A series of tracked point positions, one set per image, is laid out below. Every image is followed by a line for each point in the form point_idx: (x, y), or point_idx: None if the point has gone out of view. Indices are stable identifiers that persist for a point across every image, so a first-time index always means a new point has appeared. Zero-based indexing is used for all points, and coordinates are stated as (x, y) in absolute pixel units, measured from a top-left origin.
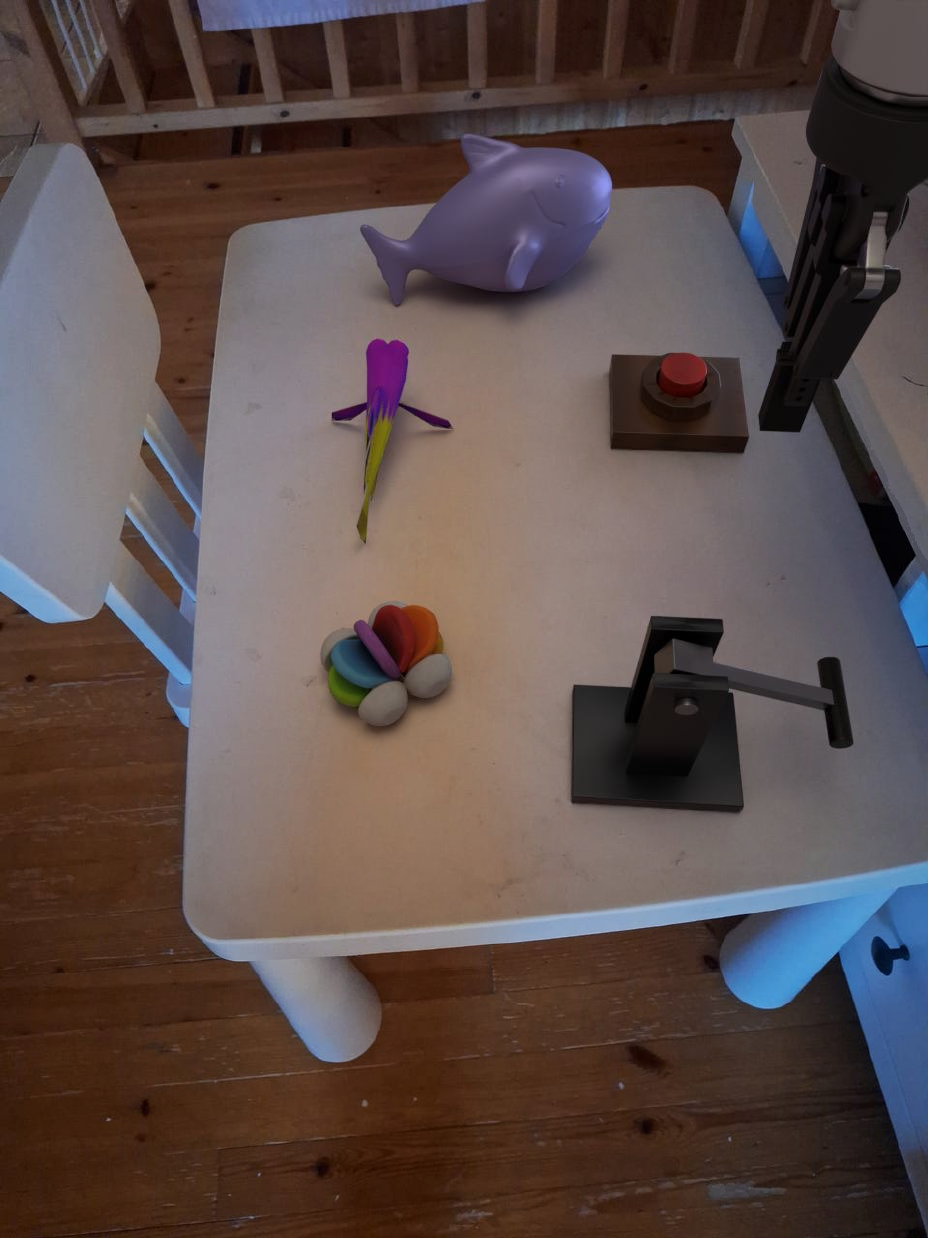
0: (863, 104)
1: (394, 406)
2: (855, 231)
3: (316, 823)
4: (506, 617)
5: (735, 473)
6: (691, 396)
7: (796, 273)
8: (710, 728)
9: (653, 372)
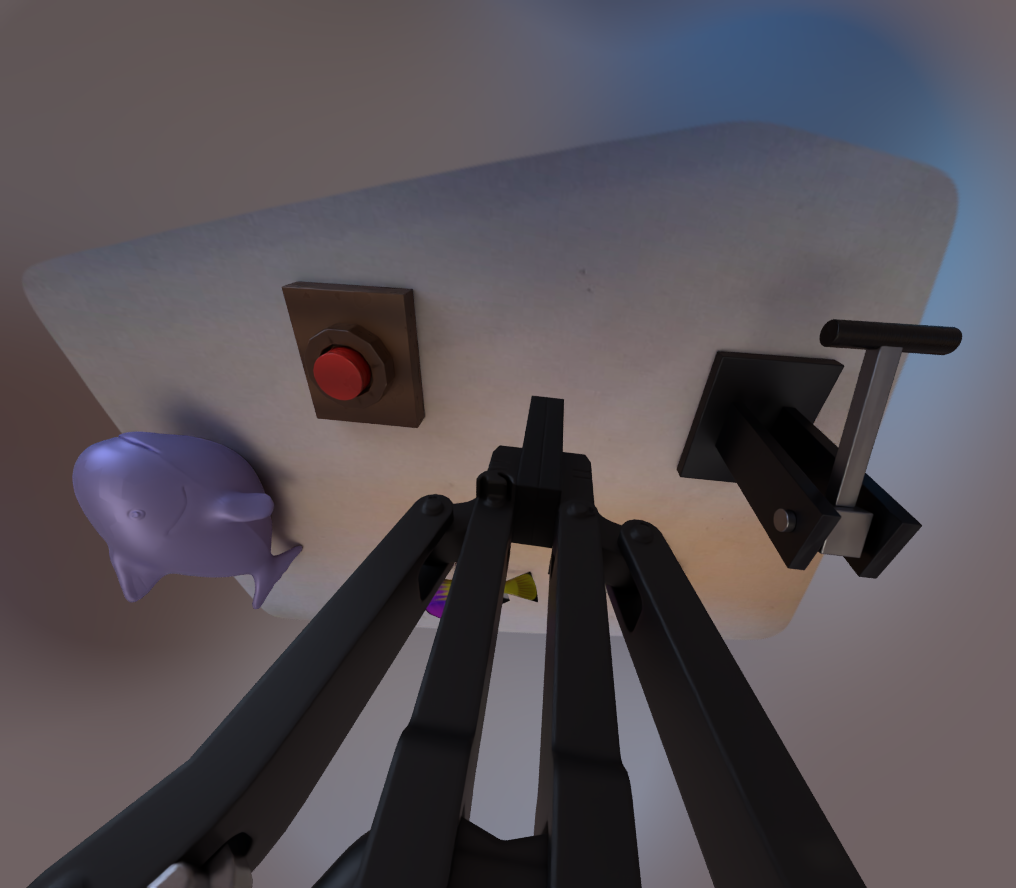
0: None
1: None
2: None
3: (733, 598)
4: (600, 503)
5: (442, 302)
6: (366, 362)
7: (421, 615)
8: None
9: None
